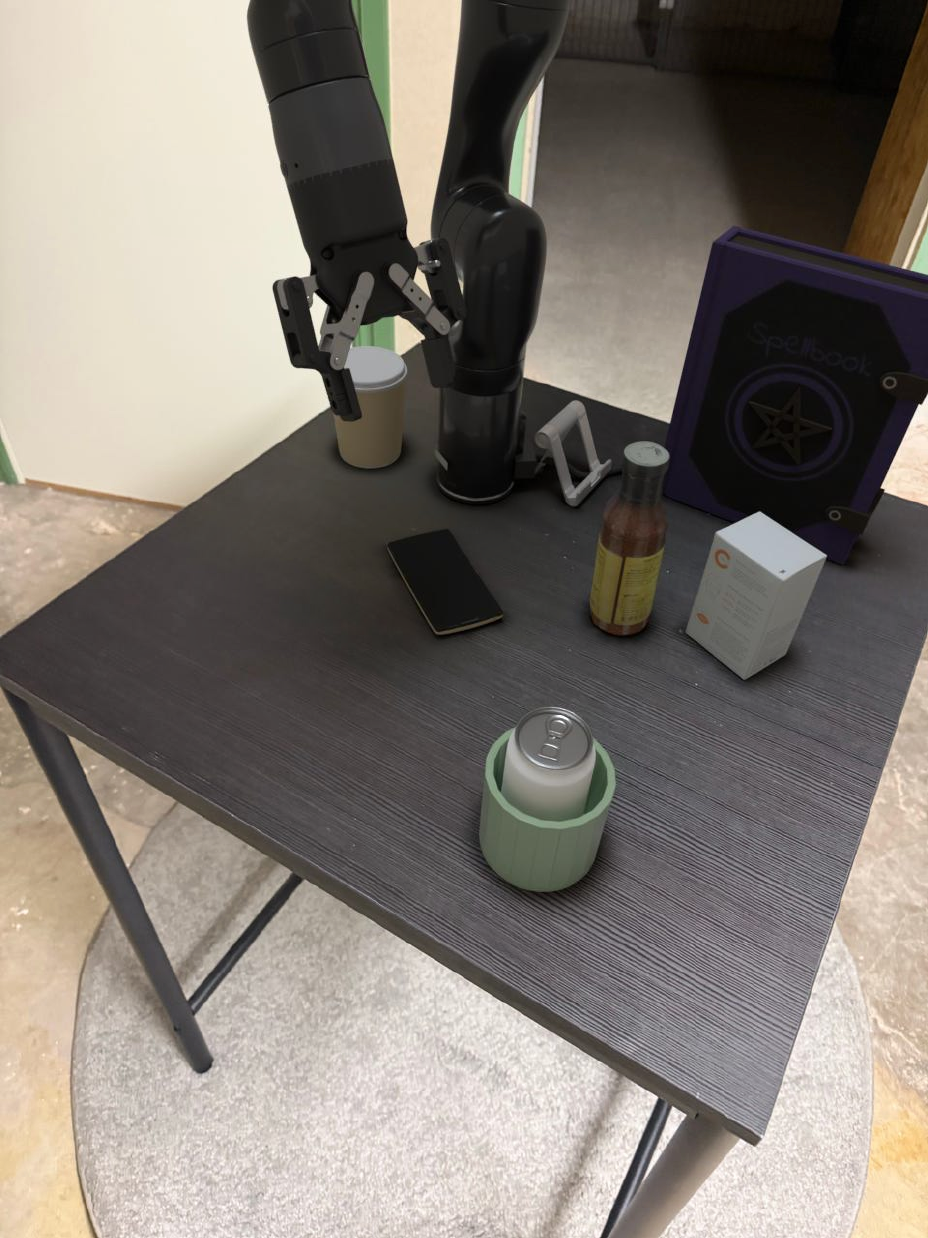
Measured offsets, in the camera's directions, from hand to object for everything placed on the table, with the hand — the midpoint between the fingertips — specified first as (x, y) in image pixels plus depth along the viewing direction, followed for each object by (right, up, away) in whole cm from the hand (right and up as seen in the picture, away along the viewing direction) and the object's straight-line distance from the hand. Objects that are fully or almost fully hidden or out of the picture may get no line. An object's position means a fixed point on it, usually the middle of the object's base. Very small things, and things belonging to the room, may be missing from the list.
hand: (399, 402), depth 66 cm
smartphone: (+3, -13, +26) cm, 29 cm away
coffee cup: (-7, +5, +44) cm, 44 cm away
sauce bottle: (+21, -16, +24) cm, 35 cm away
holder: (+11, -34, +5) cm, 36 cm away
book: (+39, -4, +37) cm, 54 cm away
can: (+11, -34, +4) cm, 35 cm away
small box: (+32, -19, +22) cm, 43 cm away
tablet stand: (+17, 0, +41) cm, 44 cm away
